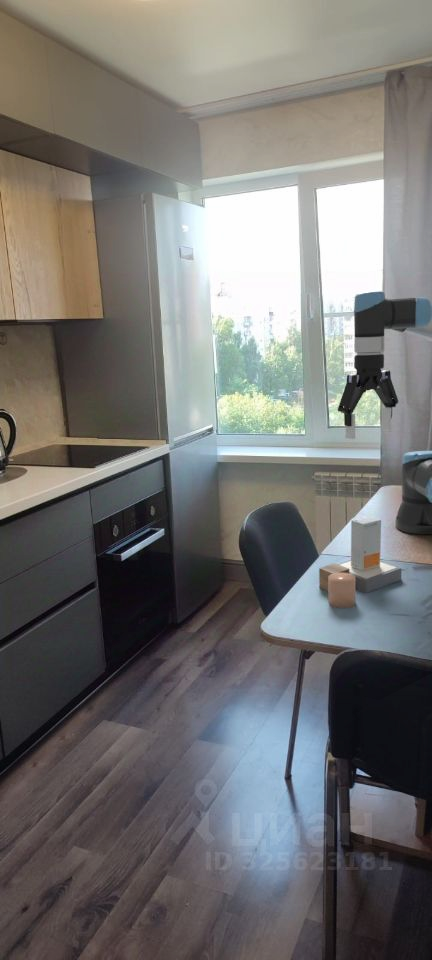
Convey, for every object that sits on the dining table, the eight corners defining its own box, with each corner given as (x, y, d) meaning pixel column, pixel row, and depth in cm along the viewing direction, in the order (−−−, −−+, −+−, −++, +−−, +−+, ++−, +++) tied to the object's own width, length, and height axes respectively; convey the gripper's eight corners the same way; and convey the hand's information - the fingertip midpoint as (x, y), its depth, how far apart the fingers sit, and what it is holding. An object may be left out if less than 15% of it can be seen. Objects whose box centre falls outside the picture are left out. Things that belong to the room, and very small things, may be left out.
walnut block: (334, 582, 164) (334, 563, 163) (349, 588, 160) (349, 568, 159) (319, 587, 161) (319, 568, 160) (334, 594, 157) (334, 574, 156)
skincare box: (362, 572, 161) (362, 524, 158) (350, 566, 165) (350, 520, 162) (381, 566, 164) (381, 519, 161) (369, 561, 167) (369, 515, 165)
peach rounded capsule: (341, 594, 156) (341, 570, 155) (361, 602, 152) (361, 578, 150) (322, 601, 153) (322, 577, 152) (341, 610, 148) (341, 584, 147)
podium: (364, 566, 173) (364, 554, 172) (401, 579, 163) (401, 567, 162) (330, 578, 166) (330, 566, 166) (366, 592, 157) (366, 580, 156)
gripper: (390, 350, 183) (389, 427, 188) (323, 356, 170) (324, 439, 175) (412, 350, 177) (411, 429, 182) (344, 357, 164) (345, 443, 169)
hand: (368, 434), depth 179 cm, fingers open, 13 cm apart
